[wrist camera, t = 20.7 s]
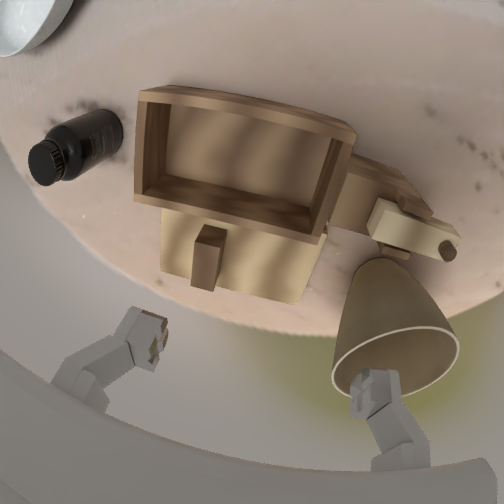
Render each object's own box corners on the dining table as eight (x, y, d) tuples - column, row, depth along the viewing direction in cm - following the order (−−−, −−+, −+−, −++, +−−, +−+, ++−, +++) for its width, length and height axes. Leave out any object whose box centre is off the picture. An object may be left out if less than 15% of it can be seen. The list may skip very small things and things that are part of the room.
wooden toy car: (451, 225, 24) (466, 245, 21) (438, 248, 26) (451, 270, 23) (378, 197, 24) (388, 216, 21) (366, 225, 26) (374, 246, 23)
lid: (326, 225, 36) (330, 254, 31) (297, 295, 43) (296, 326, 38) (168, 187, 36) (148, 209, 31) (165, 262, 43) (150, 289, 38)
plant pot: (418, 221, 33) (467, 309, 20) (424, 298, 40) (451, 382, 27) (313, 250, 38) (316, 349, 25) (338, 321, 45) (343, 409, 33)
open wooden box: (407, 145, 28) (448, 179, 19) (372, 230, 35) (391, 286, 26) (168, 85, 28) (118, 96, 19) (159, 177, 35) (117, 218, 26)
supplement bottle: (95, 99, 29) (29, 122, 20) (132, 124, 31) (70, 155, 21) (78, 141, 33) (18, 174, 23) (111, 166, 35) (55, 207, 25)
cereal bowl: (27, 71, 26) (-7, 80, 21) (14, -2, 17) (-17, 0, 12) (106, 9, 22) (70, 5, 16) (89, -66, 13) (58, -76, 7)
